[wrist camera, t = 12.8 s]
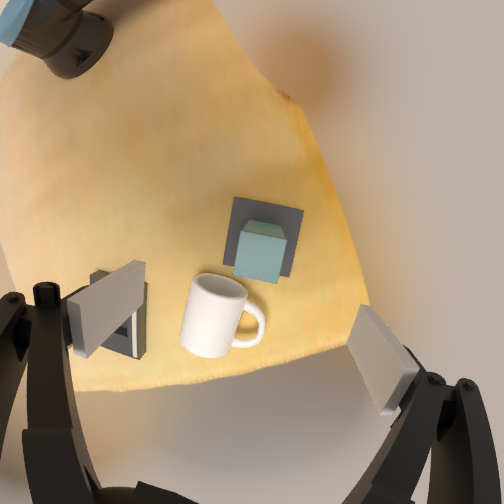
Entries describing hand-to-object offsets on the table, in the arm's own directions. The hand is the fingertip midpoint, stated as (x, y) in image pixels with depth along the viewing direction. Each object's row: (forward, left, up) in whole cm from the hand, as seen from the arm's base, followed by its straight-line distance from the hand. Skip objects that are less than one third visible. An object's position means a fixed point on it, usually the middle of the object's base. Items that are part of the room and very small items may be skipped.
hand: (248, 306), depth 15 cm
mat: (0, 0, -25) cm, 25 cm away
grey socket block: (+18, -22, -25) cm, 38 cm away
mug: (+12, -3, -25) cm, 28 cm away
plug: (0, 0, -24) cm, 24 cm away
